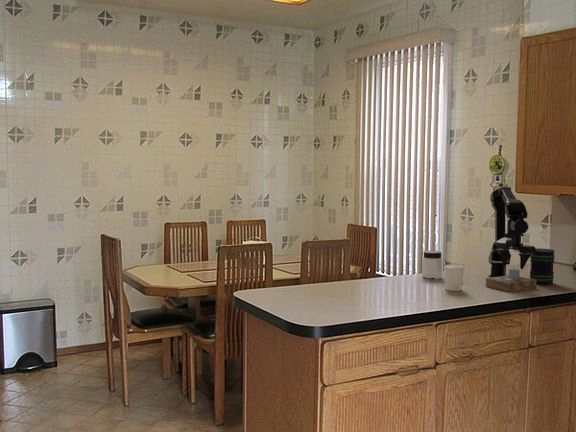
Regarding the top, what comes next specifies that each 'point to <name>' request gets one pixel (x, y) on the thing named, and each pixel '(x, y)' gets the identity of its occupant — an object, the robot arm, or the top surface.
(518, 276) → the grey stepped block
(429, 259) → the jar
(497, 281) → the well block
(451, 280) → the white cup
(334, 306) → the top surface
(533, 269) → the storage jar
